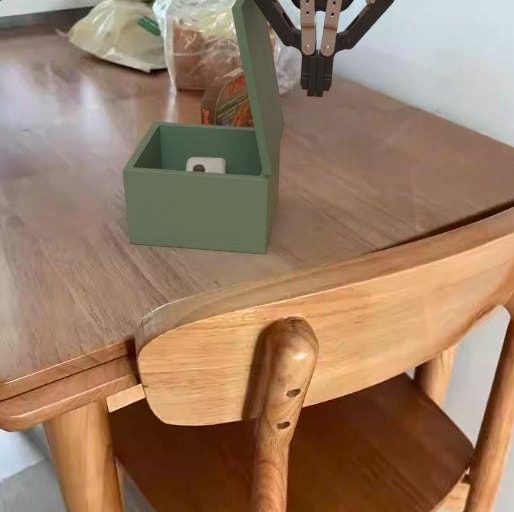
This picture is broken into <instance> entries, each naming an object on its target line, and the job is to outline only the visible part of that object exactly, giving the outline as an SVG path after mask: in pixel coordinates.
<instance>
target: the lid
mask: <svg viewBox="0 0 514 512" xmlns="http://www.w3.org/2000/svg"><path fill="white" fill-rule="evenodd" d="M231 13H232V19H233V23H234V24H233V25H234V29H235V35H236V39H237V44H238V50H239V55H240V59H241V66H243V71H244V76H245V82H246V87H247V92H248V97H249V102H250V108H251V113H252V118H253V123H254V129H255V134H256V139H257V144H258V149H259V155H260V160H261V165H262V170H263V175H264V176H266V175H272V172H273V168H274V164H275V160H276V156H277V152H278V148H279V144H280V145H281V140H282V137H283V133H284V128H285V118H284V112H283V107H282V106H283V105H282V100H281V94H280V88H279V83H278V76H277V71H276V70H277V69H276V64H275V58H274V51H273V47H272V46H273V45H272V40H271V34H270V28H269V22H268V21H267V19H266V18H265V16H264V15H263V13H262V12H261V10H260V9H259V7H258V6H257V4H256V3H255V1H254V0H235V1H234V3H233V5H232V6H231Z"/></svg>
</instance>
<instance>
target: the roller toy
mask: <svg viewBox="0 0 514 512" xmlns="http://www.w3.org/2000/svg"><path fill="white" fill-rule="evenodd" d="M186 171H193V172H208V173H222V174H227V164H226V161H225V160H224V159H223V158H210V157H191V158H189V159H188V161H187V164H186Z"/></svg>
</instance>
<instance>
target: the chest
mask: <svg viewBox="0 0 514 512" xmlns="http://www.w3.org/2000/svg"><path fill="white" fill-rule="evenodd" d="M191 157H210V158H223V159H224V160H225V161H226V164H227V174H222V173H208V172H193V171H186V164H187V161H188V159H189V158H191ZM280 159H281V143H280V144H279V148H278V152H277V156H276V160H275V164H274V168H273V172H272V175H266V176H264V175H263V170H262V165H261V160H260V155H259V149H258V144H257V139H256V134H255V129H254V128H250V127H235V126H219V125H203V124H199V123H187V122H186V123H185V122H170V121H155V120H154V121H152V124H151V125H150V127H149V128H148V130H147V131H146V133H145V134H144V136H143V137H142V139H141V141H140V142H139V144H138V146H137V147H136V149H135V150H134V152H133V153H132V154H131V156H130V158H129V159H128V161H127V162H126V164H125V166H124V167H123V169H122V179H123V180H122V181H123V189H124V200H125V207H126V209H125V210H126V219H127V228H128V237H129V238H128V239H129V244H131V245H144V246H145V245H146V246H155V247H156V246H157V247H158V246H159V247H168V248H169V247H171V248H183V249H193V250H194V249H195V250H206V251H207V250H208V251H218V252H219V251H220V252H232V253H233V252H234V253H235V252H236V253H244V254H245V253H246V254H259V255H266V253H267V248H268V245H269V240H270V235H271V231H272V226H273V221H274V219H275V218H274V217H275V213H276V208H277V203H278V199H279V184H280Z"/></svg>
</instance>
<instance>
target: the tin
mask: <svg viewBox="0 0 514 512" xmlns="http://www.w3.org/2000/svg"><path fill="white" fill-rule="evenodd" d="M200 121H201V124H203V125H219V126H235V127H250V128H254V123H253V118H252V113H251V108H250V102H249V97H248V92H247V87H246V82H245V76H244V71H243V66H242V65H240V66H239V67H236V68H234V69H232V70H230V71H229V72H226V73H225V74H223V75H222V76H220V77H217V78H215V79H214V80H212V81H211V82H210V83H209V84H208V86H207V87H206V89H205V91H204V93H203V95H202V99H201V103H200Z"/></svg>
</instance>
